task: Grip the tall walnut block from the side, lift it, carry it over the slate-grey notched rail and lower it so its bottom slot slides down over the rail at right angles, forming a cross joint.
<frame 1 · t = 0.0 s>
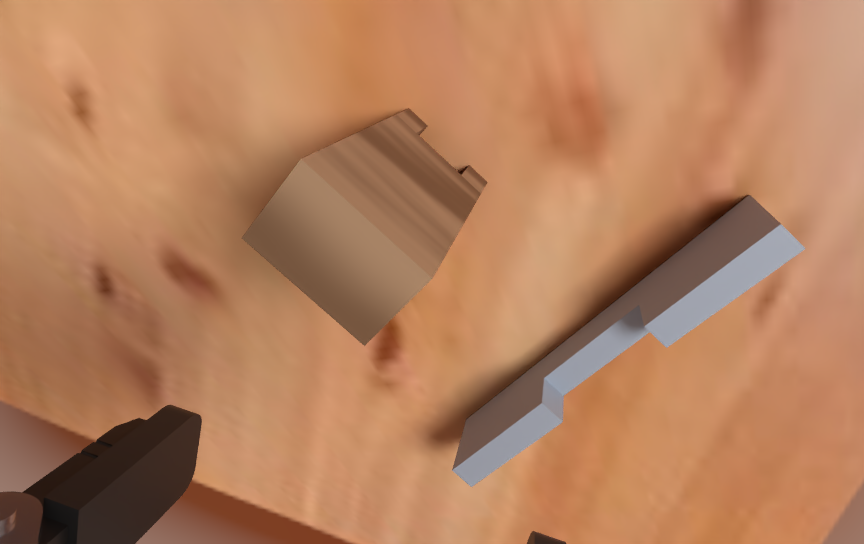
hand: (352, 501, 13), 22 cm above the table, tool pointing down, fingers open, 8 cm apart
slate rail: (597, 331, 34), on the table
walnut block: (425, 171, 33), on the table
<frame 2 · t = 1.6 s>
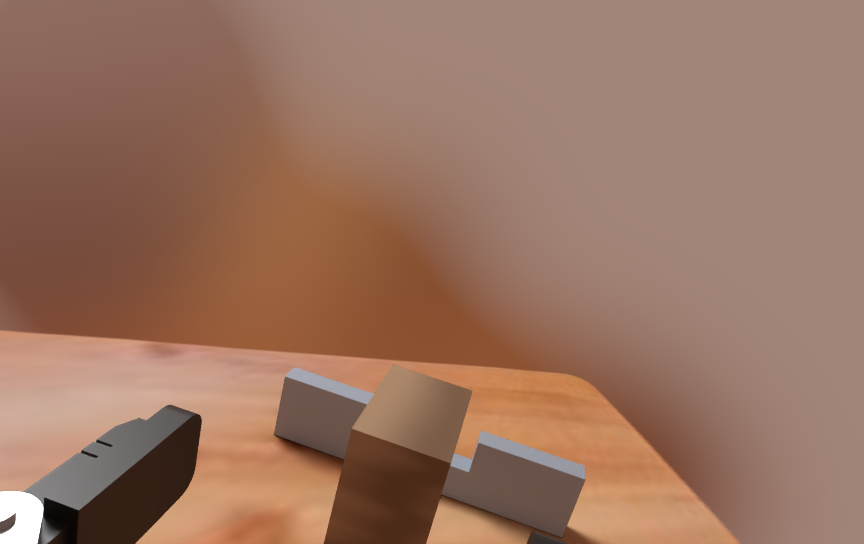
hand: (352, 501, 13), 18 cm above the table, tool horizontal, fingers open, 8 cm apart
slate rail: (415, 477, 42), on the table
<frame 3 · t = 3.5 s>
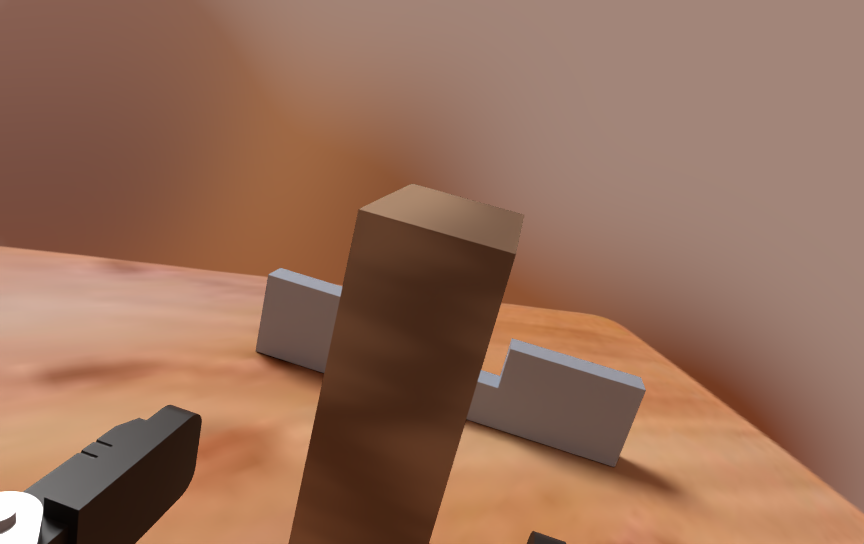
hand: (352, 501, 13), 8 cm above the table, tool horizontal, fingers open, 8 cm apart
slate rail: (431, 400, 34), on the table
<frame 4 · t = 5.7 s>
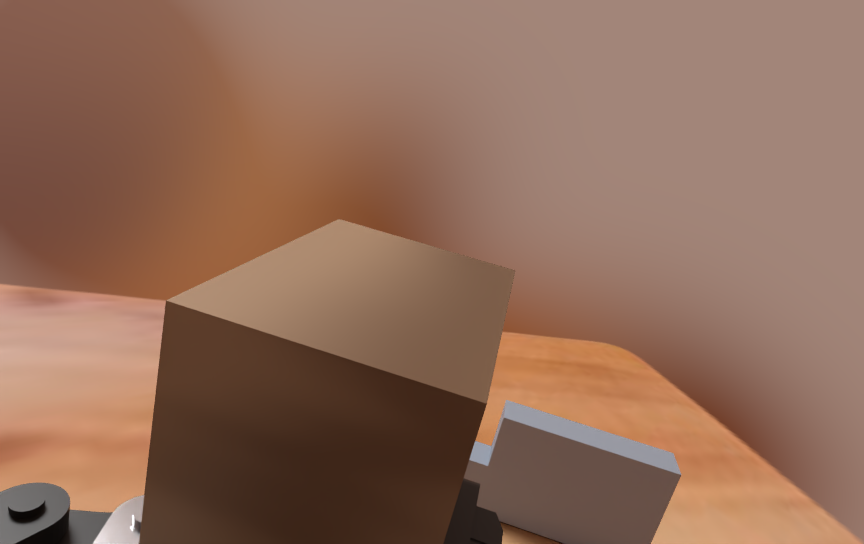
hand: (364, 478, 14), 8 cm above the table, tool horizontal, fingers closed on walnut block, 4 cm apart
slate rail: (403, 476, 27), on the table
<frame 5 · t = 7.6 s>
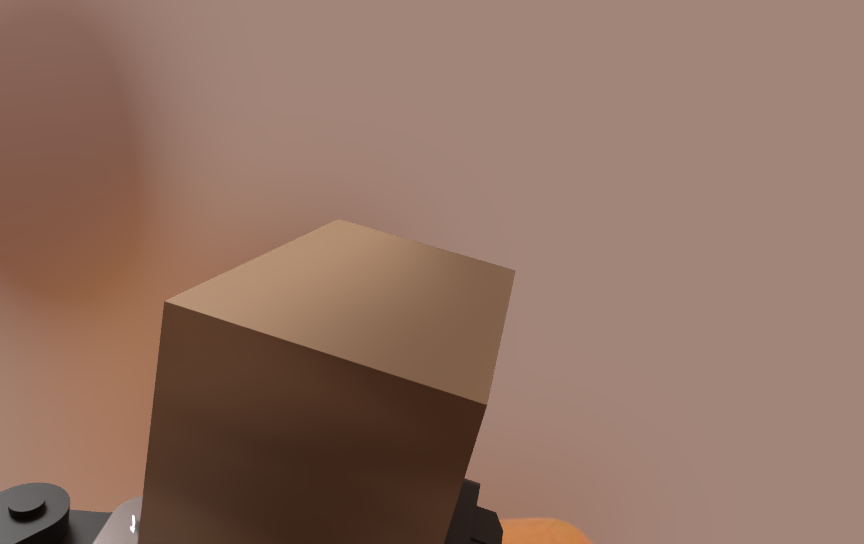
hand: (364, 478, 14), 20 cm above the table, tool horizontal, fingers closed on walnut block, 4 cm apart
when the fingers open (9 cm above the table, at t = 9.9 s): walnut block stays where it is, resting on slate rail.
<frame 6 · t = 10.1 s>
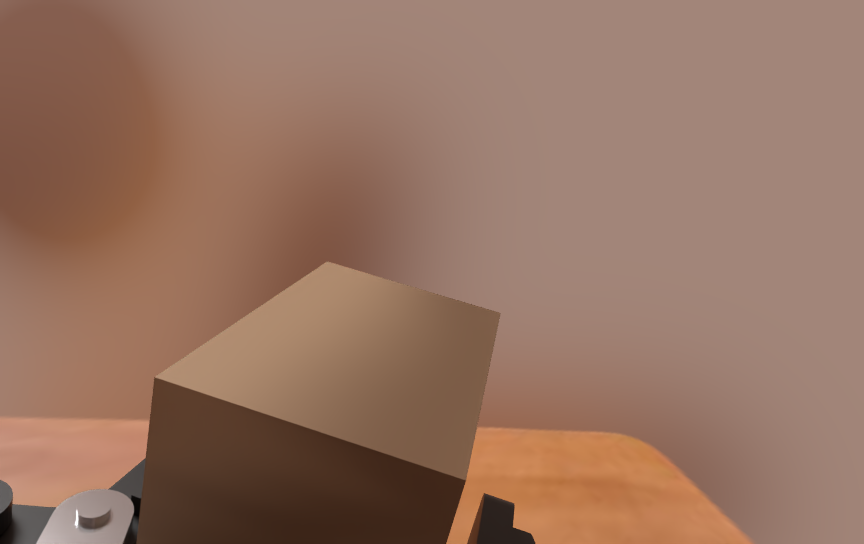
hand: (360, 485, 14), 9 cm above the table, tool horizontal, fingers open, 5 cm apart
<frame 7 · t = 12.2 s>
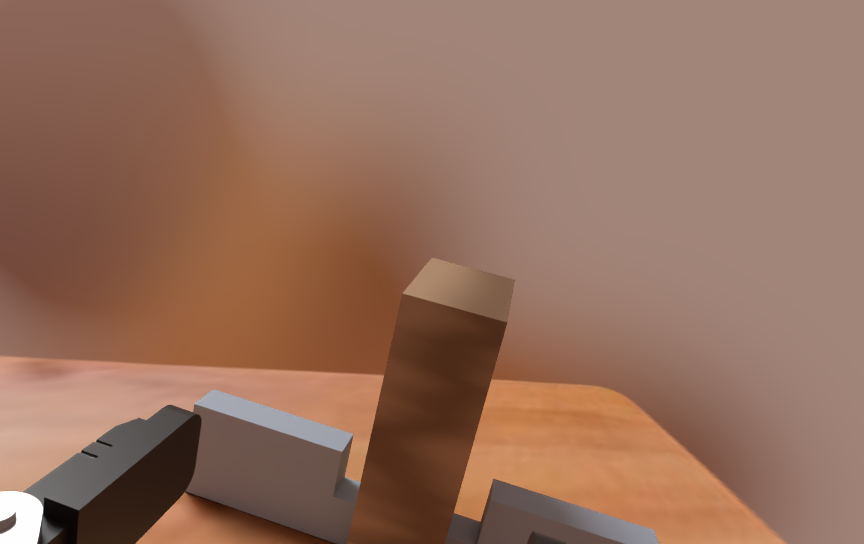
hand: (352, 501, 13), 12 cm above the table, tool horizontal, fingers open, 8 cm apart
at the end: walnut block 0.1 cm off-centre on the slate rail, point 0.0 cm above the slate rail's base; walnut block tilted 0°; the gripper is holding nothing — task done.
